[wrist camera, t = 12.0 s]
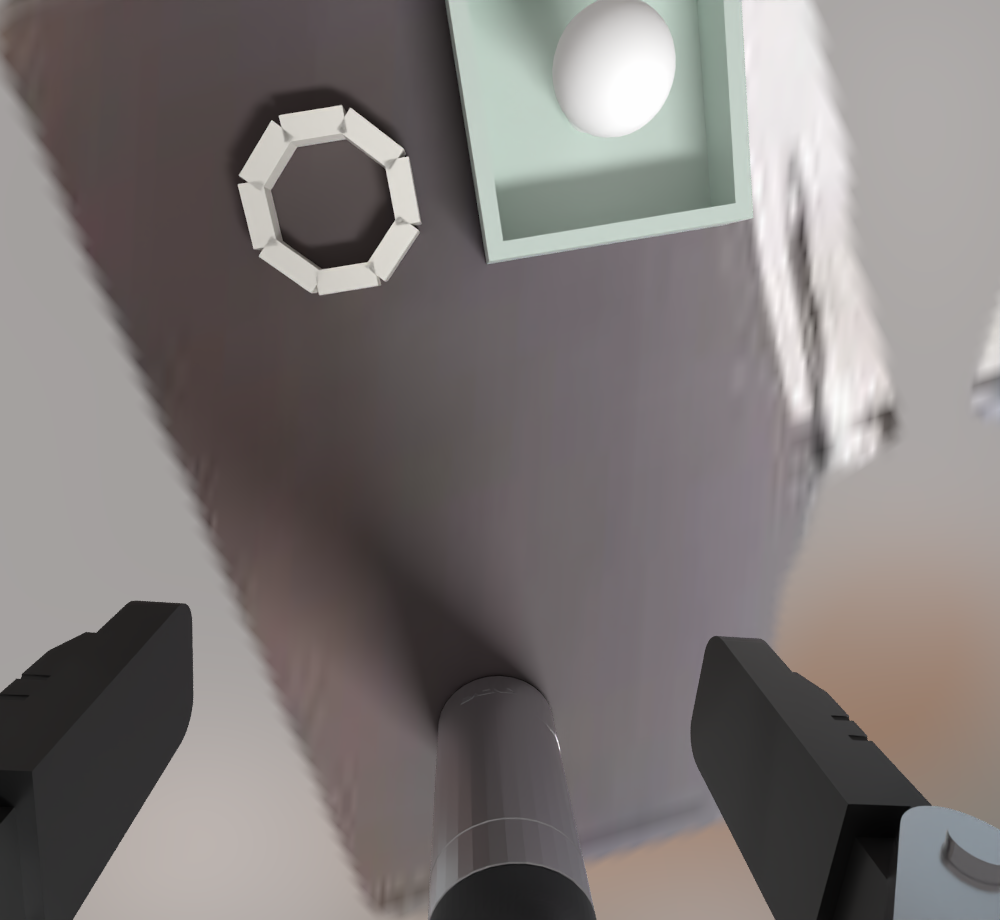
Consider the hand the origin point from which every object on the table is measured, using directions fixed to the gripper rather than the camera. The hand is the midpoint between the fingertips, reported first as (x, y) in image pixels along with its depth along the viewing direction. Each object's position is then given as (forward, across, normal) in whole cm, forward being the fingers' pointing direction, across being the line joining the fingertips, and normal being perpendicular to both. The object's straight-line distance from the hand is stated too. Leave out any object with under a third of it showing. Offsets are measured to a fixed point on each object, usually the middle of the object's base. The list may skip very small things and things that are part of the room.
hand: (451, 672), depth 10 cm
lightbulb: (+35, -7, -17) cm, 40 cm away
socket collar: (+36, +9, -10) cm, 38 cm away
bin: (+36, -7, -18) cm, 40 cm away
